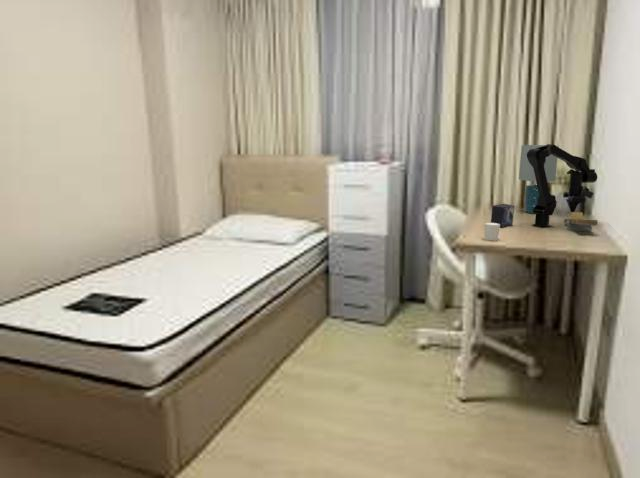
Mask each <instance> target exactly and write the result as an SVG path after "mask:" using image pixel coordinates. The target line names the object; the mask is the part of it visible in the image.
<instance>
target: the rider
mask: <svg viewBox="0 0 640 478" xmlns="http://www.w3.org/2000/svg"><path fill="white" fill-rule="evenodd" d="M583 214H584V213H583V212H578V211H575V212H570V211H568V212H567V219H577V220H583Z"/></svg>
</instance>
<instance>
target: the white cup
mask: <svg viewBox="0 0 640 478" xmlns="http://www.w3.org/2000/svg"><path fill="white" fill-rule="evenodd" d="M483 224H484V225H483V230H484V231H483V232H484V235H483V237H484V240H486V241H492V242H493V241H495V242H497V241H498V239H499V233H500V230H501V228H500V224H498V223H491V222H484V223H483Z"/></svg>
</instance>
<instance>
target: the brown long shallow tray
mask: <svg viewBox="0 0 640 478" xmlns="http://www.w3.org/2000/svg"><path fill="white" fill-rule="evenodd" d="M568 220H570V221H571V222H570V224H581V225H592V226H597V225H598V220H597V219H582V220H577V219H568V218H564V219H563V224H566V223H567V221H568Z"/></svg>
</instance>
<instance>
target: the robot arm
mask: <svg viewBox="0 0 640 478" xmlns="http://www.w3.org/2000/svg"><path fill="white" fill-rule="evenodd" d="M544 145H545V146H542V147H539V148H535V149H530V150H529V151H528V153H527V159H528V161H529V163H530V164H531V166H532V167H533V169H534V173H535V178H536V182H537V187H538V191H539V197H538V204H537V205H536V206H535V207H534V208H533V213H532V214H535V213H537V214H535V219H534V223H533V224H532V225H531V226H533V227H538V228H551V227H552V225H551V224H550V216H553V214H554V211H555V209H556V208H557V203H558V202H557V200H556V199H557V197H556V195H555V194H551V191H550V188H549V187H550V186H549V182H547V178H546V173H545V168H544V164H545V161H546V157H548V156H550V155H551V154H552V155H554V156H555V157H557V159H559V160H561V161H563V162H564V163H565V164H566V166H567V167H569V168H570V169H569V170H568V171H567V172H566V174H567V175H569V183H568V184H567V187H568V191H565V192H564V193H563V195H562V196H563V198H564V199H565V201H566V204H567V206H568V209H569V212H576V209H577V207H578V205H579V204H580V203H586V201H587V200H586V199H587V198H588V199H592V198H593V196H594V194H595V193H594V192H593V191H590V189H589V188H588V187H584V185H583V184H589V183H590V184H593V183H596V182H597V180H598V175H597V172H596V169H595V168H594V169H593V168H590V167H589V165H588V163H587V160H586V158H583V157H581V156H576V155H573V154H570V153H569V152H568V151H566V150H563V149H562V148H560V147H557V146H558V145H555V144H549V143H548V144H544Z"/></svg>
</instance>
